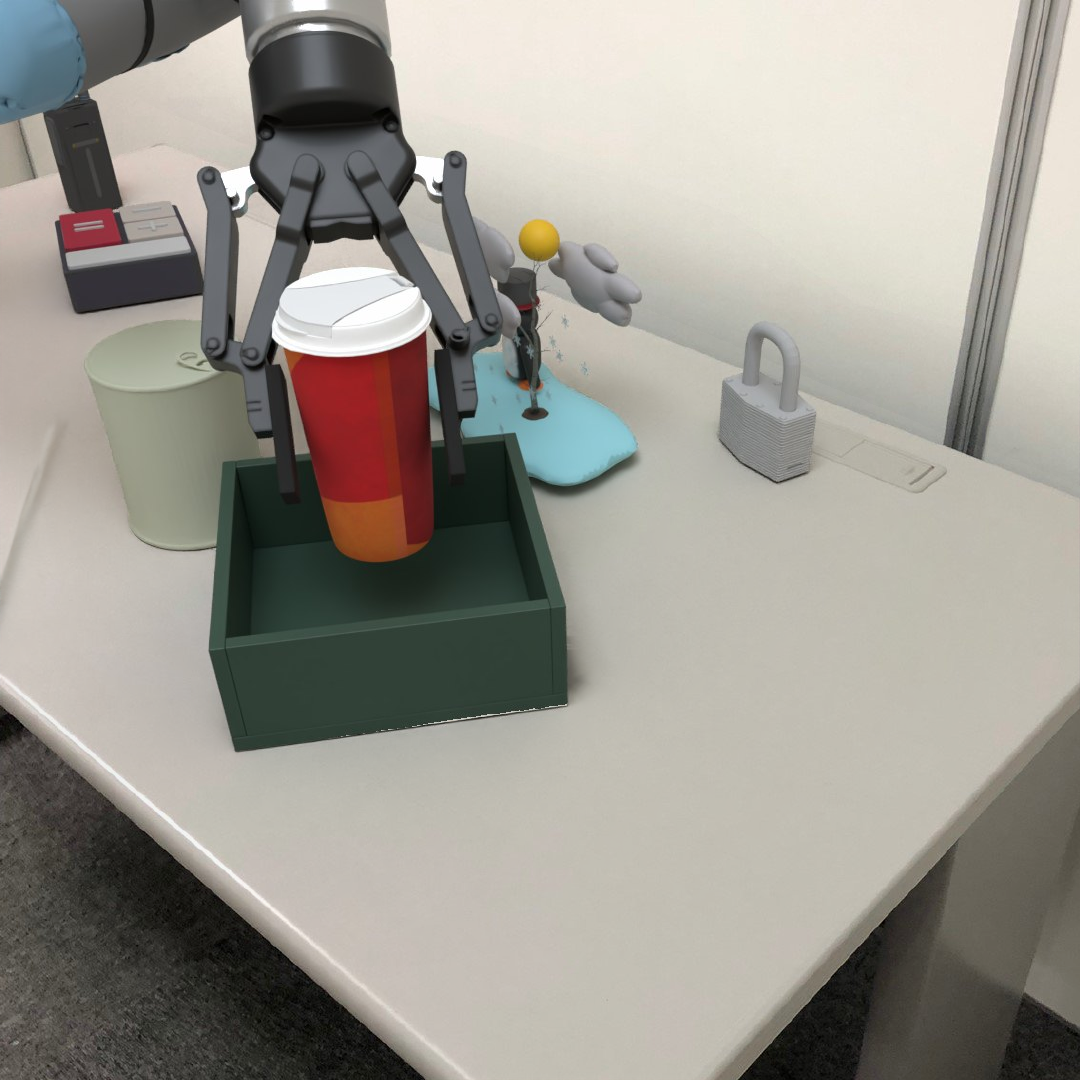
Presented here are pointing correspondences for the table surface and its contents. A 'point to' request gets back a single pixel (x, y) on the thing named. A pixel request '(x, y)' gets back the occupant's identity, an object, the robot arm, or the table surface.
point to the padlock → (768, 410)
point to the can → (169, 429)
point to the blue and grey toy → (528, 384)
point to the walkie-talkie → (83, 155)
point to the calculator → (127, 256)
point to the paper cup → (363, 404)
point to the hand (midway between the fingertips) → (375, 488)
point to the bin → (383, 607)
